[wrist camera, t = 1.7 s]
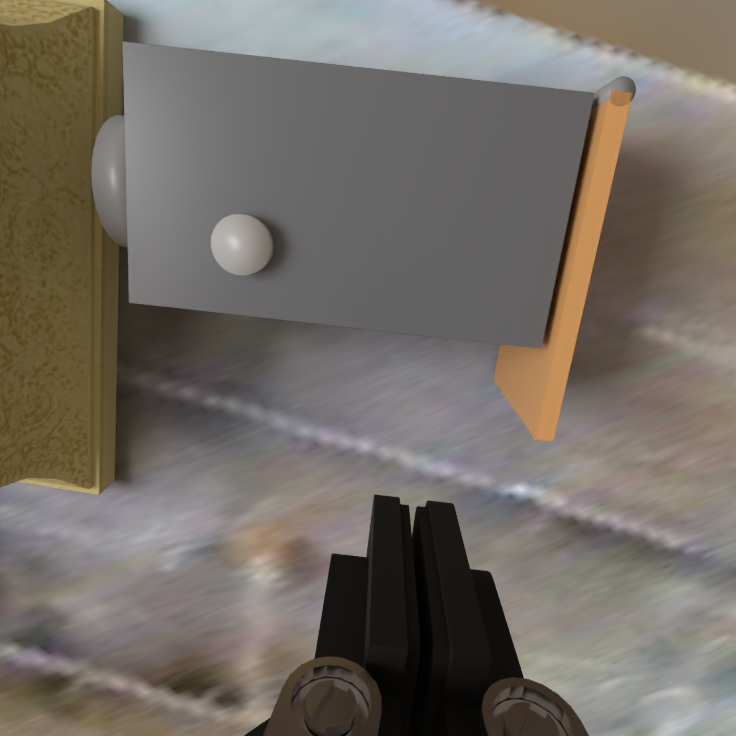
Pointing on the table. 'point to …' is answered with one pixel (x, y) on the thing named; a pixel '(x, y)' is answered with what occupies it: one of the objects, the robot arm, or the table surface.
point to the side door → (569, 272)
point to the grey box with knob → (340, 193)
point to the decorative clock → (57, 244)
